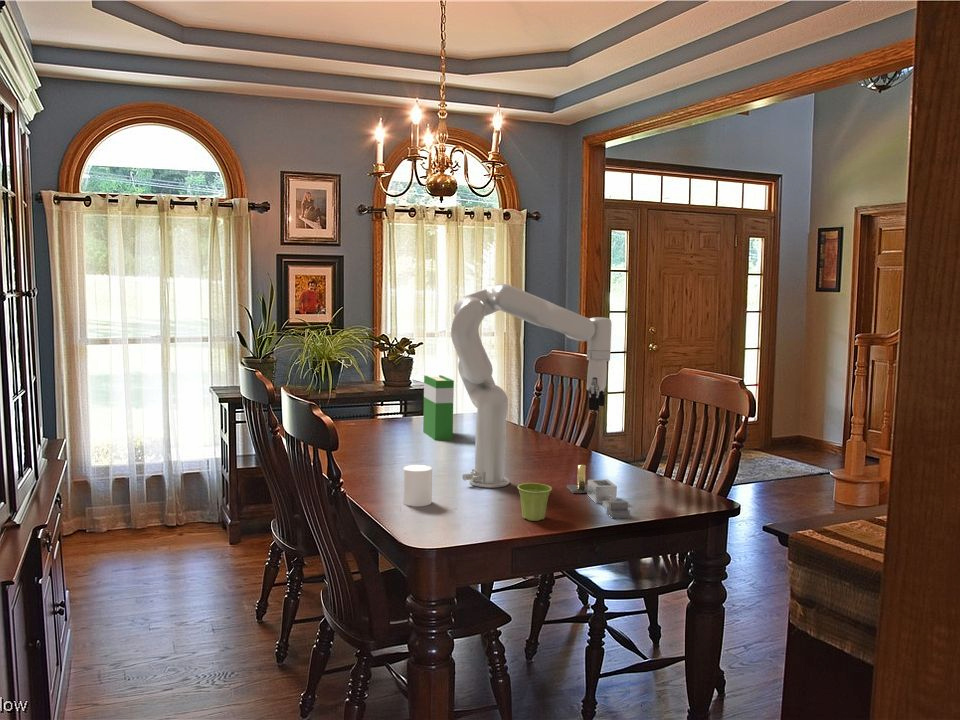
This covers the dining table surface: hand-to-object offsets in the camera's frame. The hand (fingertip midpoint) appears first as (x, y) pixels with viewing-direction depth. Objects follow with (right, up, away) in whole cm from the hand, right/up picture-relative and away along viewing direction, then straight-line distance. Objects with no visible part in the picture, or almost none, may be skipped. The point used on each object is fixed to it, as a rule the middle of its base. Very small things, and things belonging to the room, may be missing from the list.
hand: (596, 407), depth 266 cm
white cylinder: (-57, -26, -28) cm, 68 cm away
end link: (-2, -26, -21) cm, 34 cm away
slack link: (0, -27, -31) cm, 41 cm away
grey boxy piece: (+1, -28, -38) cm, 47 cm away
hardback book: (-55, -16, +70) cm, 91 cm away
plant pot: (-23, -28, -42) cm, 56 cm away
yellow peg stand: (-7, -25, -12) cm, 29 cm away
